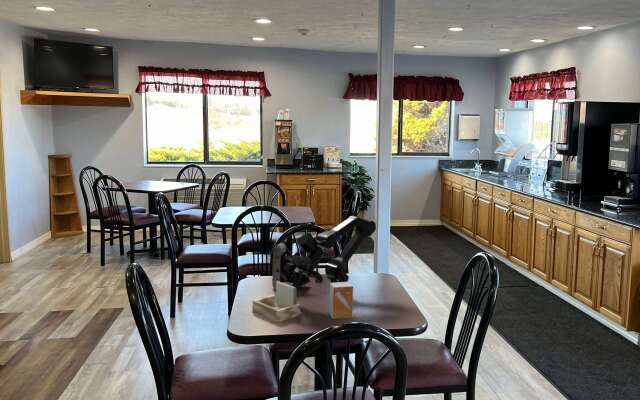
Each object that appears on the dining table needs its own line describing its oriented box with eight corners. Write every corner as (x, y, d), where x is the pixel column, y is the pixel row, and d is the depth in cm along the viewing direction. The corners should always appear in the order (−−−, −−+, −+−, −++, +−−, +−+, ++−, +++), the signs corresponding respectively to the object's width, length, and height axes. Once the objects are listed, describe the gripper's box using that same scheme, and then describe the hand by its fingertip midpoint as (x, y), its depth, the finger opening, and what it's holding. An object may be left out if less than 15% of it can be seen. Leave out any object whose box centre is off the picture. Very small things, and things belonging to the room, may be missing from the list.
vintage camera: (304, 292, 247) (306, 248, 244) (271, 288, 250) (272, 245, 247) (309, 285, 256) (311, 244, 253) (277, 282, 259) (278, 241, 256)
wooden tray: (275, 304, 229) (275, 294, 228) (301, 314, 218) (301, 303, 217) (252, 311, 221) (252, 300, 220) (278, 322, 209) (278, 311, 209)
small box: (332, 319, 213) (333, 287, 211) (328, 313, 219) (329, 282, 217) (352, 318, 214) (353, 286, 212) (348, 312, 221) (348, 281, 219)
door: (278, 303, 226) (277, 281, 225) (296, 310, 218) (296, 287, 217) (275, 304, 226) (275, 281, 224) (294, 311, 217) (294, 288, 216)
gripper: (287, 244, 233) (267, 274, 227) (318, 252, 220) (298, 284, 214) (301, 259, 240) (282, 288, 234) (332, 267, 227) (312, 299, 221)
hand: (292, 290), depth 225 cm, fingers closed
